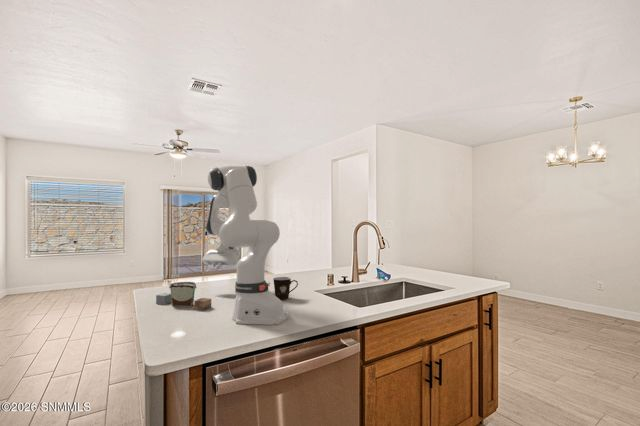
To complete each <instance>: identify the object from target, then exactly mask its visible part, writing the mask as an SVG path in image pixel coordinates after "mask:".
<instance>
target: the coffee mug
mask: <svg viewBox="0 0 640 426" xmlns="http://www.w3.org/2000/svg"><path fill="white" fill-rule="evenodd" d="M293 282H296V285H295V287H294V288H293V289H292V288H291V284H292V283H293ZM298 285H299V283H298V281H297V280H295V279H291V277H290V276H289V277H288V276H277V277H273V287H274V295H275V296H276V297H277V298H279V299H280V300H281V301H286V300H289V299H290V298H289V297H290V293H291V292H293V291H294V290H295V289H297V288H298ZM290 288H291V290H290Z"/></svg>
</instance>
